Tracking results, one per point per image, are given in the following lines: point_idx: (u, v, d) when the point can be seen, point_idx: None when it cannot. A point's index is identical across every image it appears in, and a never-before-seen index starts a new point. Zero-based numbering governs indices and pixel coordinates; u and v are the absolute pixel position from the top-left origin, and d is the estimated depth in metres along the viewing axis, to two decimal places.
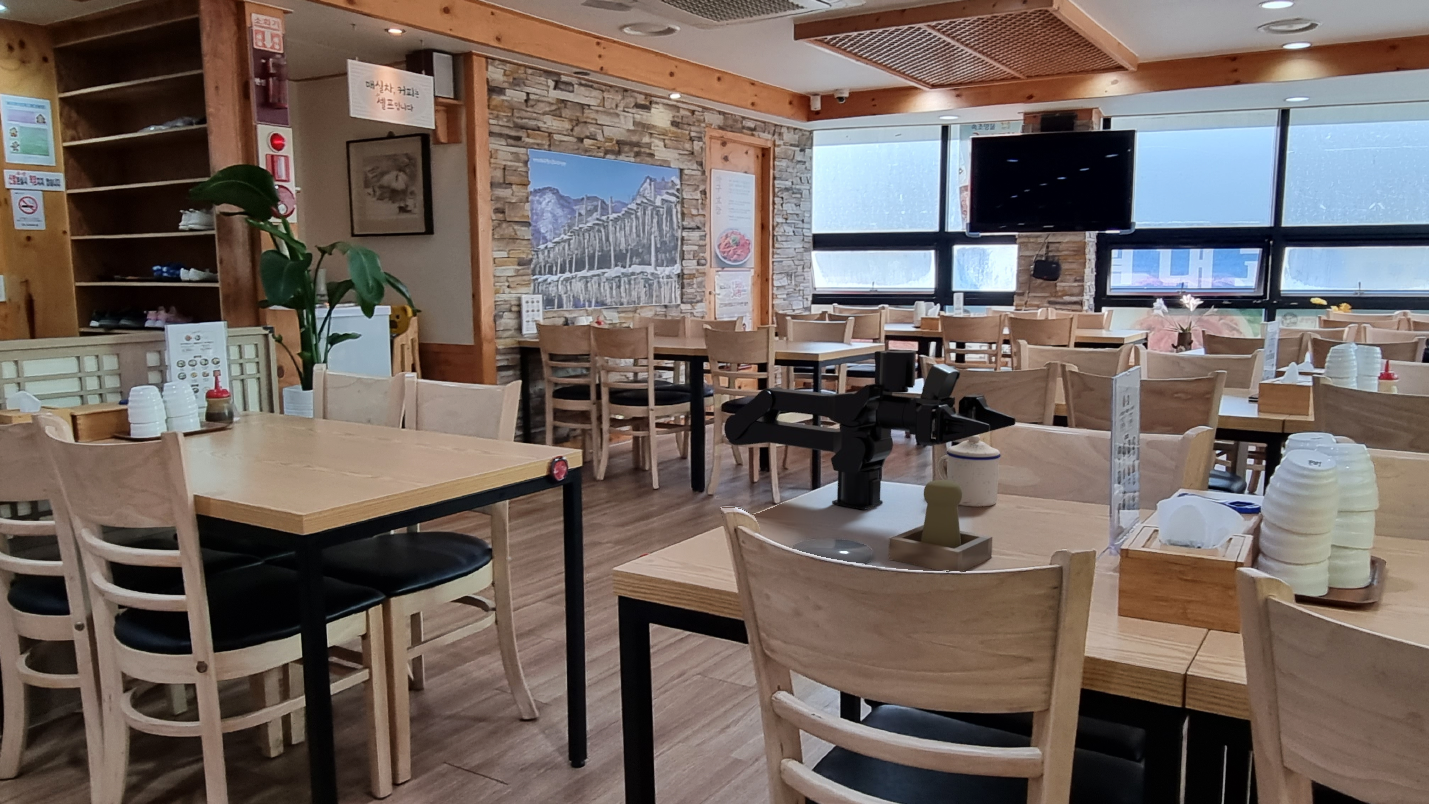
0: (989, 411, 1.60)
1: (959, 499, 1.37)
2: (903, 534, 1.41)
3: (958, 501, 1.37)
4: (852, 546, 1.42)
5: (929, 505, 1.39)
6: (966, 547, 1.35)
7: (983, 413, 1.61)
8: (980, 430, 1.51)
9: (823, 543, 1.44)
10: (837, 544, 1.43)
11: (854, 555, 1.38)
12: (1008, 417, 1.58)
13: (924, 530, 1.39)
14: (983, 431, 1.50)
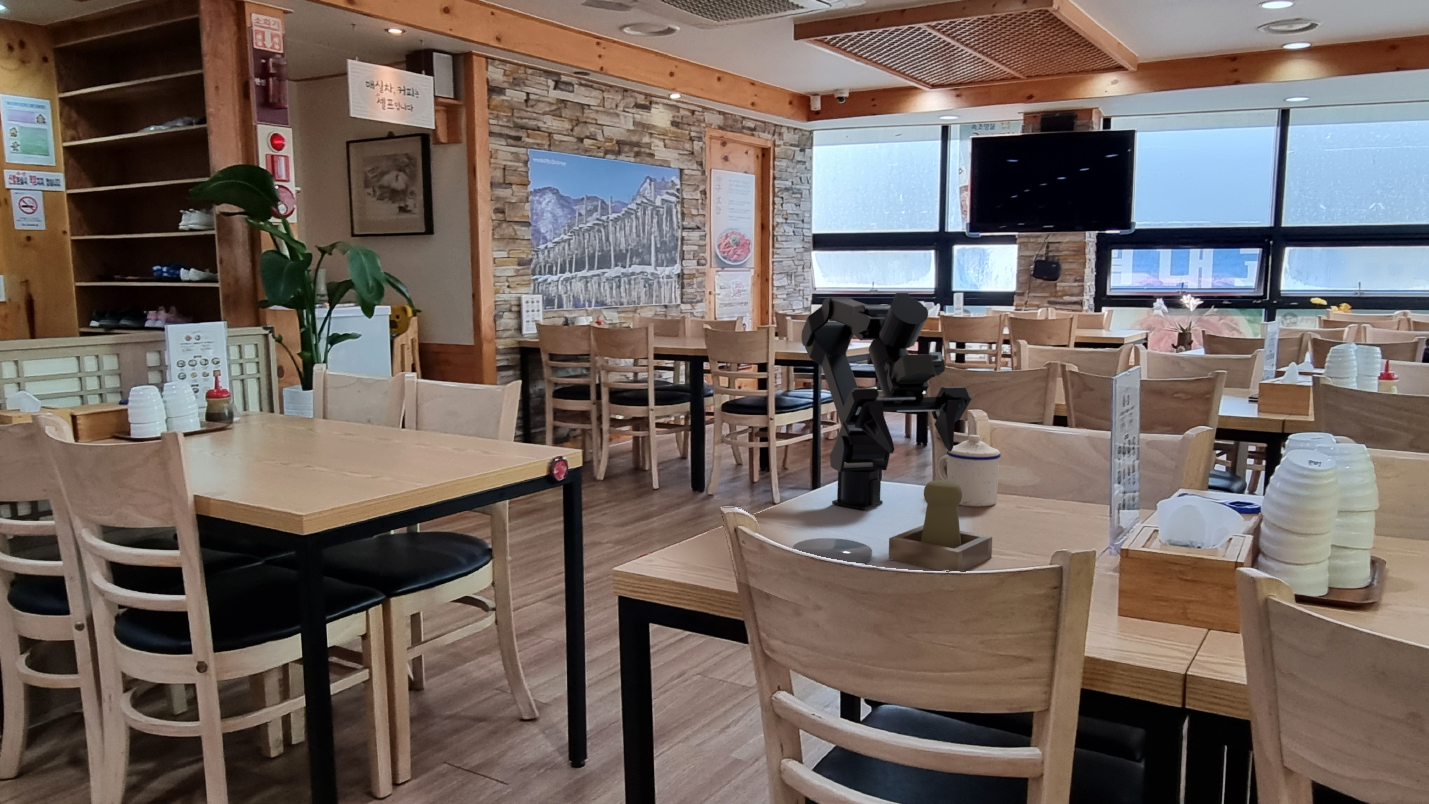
0: (946, 421, 1.49)
1: (959, 499, 1.37)
2: (903, 534, 1.41)
3: (958, 501, 1.37)
4: (852, 546, 1.42)
5: (929, 505, 1.39)
6: (966, 547, 1.35)
7: (943, 417, 1.50)
8: (886, 446, 1.46)
9: (823, 543, 1.44)
10: (837, 544, 1.43)
11: (854, 555, 1.38)
12: (949, 441, 1.47)
13: (924, 530, 1.39)
14: (887, 449, 1.46)
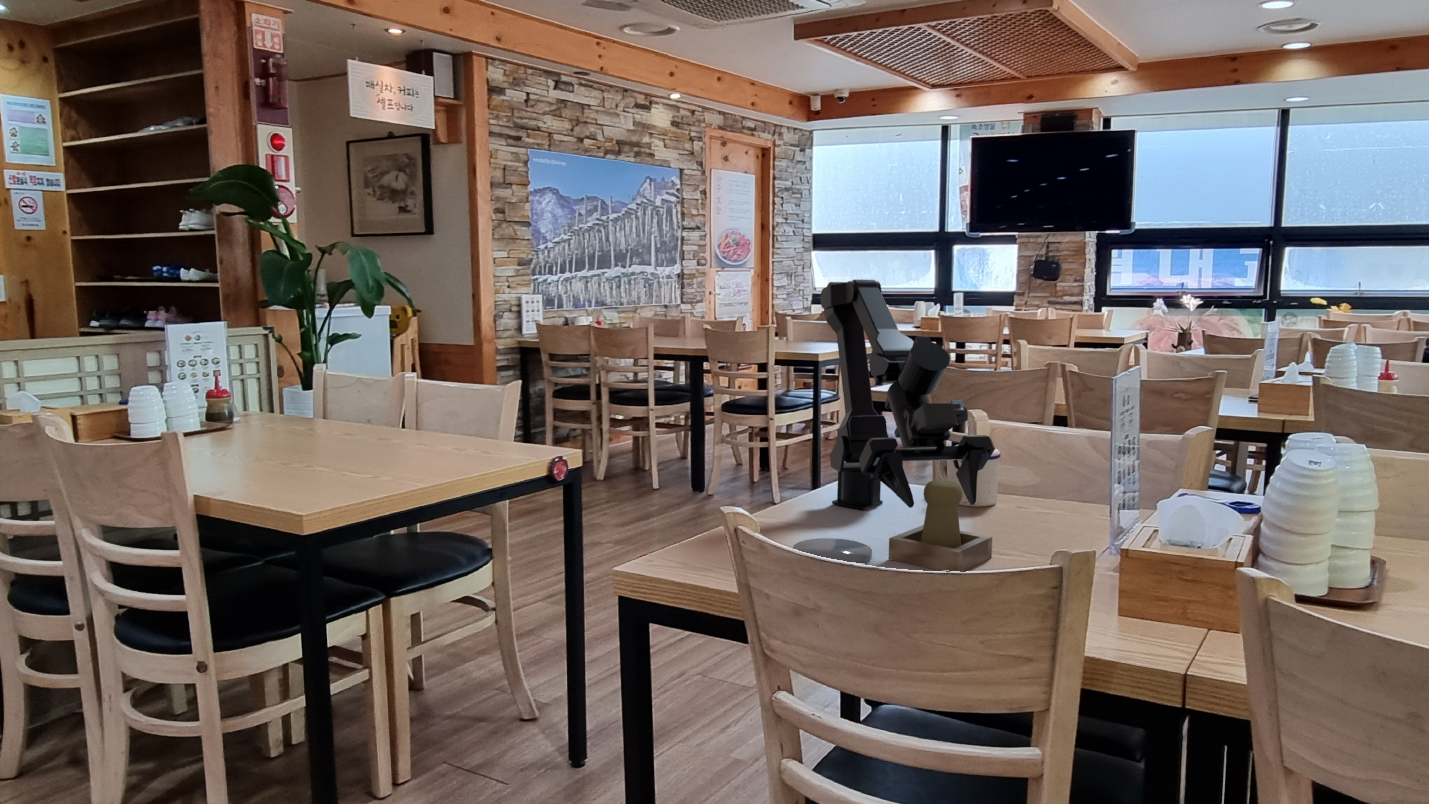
0: (968, 472, 1.42)
1: (959, 499, 1.37)
2: (903, 534, 1.41)
3: (958, 501, 1.37)
4: (852, 546, 1.42)
5: (929, 505, 1.39)
6: (966, 547, 1.35)
7: (966, 468, 1.43)
8: (905, 500, 1.39)
9: (823, 543, 1.44)
10: (837, 544, 1.43)
11: (854, 555, 1.38)
12: (971, 495, 1.40)
13: (924, 530, 1.39)
14: (906, 503, 1.39)
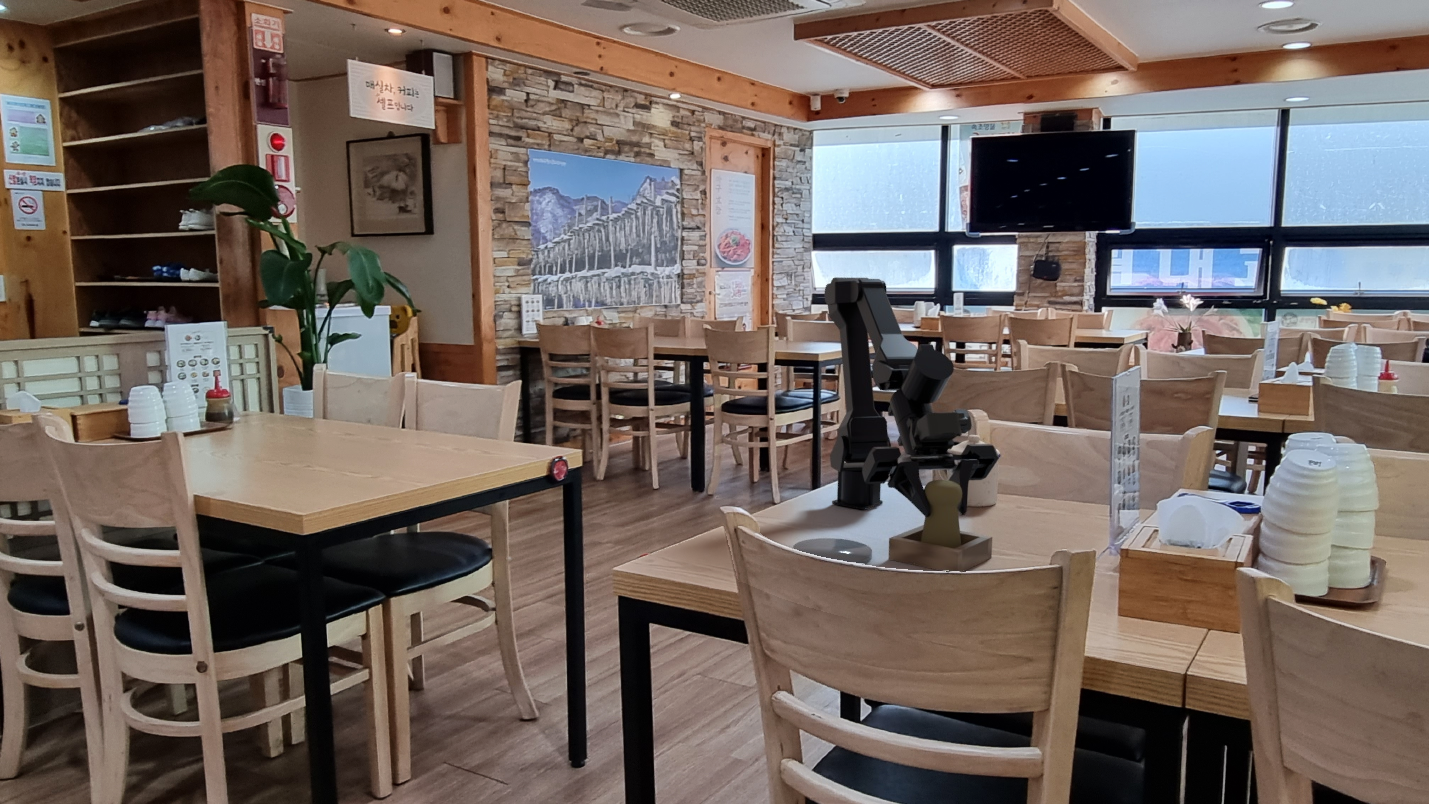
0: (959, 482, 1.40)
1: (959, 499, 1.37)
2: (903, 534, 1.41)
3: (958, 501, 1.37)
4: (852, 546, 1.42)
5: (929, 504, 1.39)
6: (966, 547, 1.35)
7: (957, 477, 1.41)
8: (921, 509, 1.38)
9: (823, 543, 1.44)
10: (837, 544, 1.43)
11: (854, 555, 1.38)
12: (962, 505, 1.39)
13: (924, 530, 1.39)
14: (923, 513, 1.38)
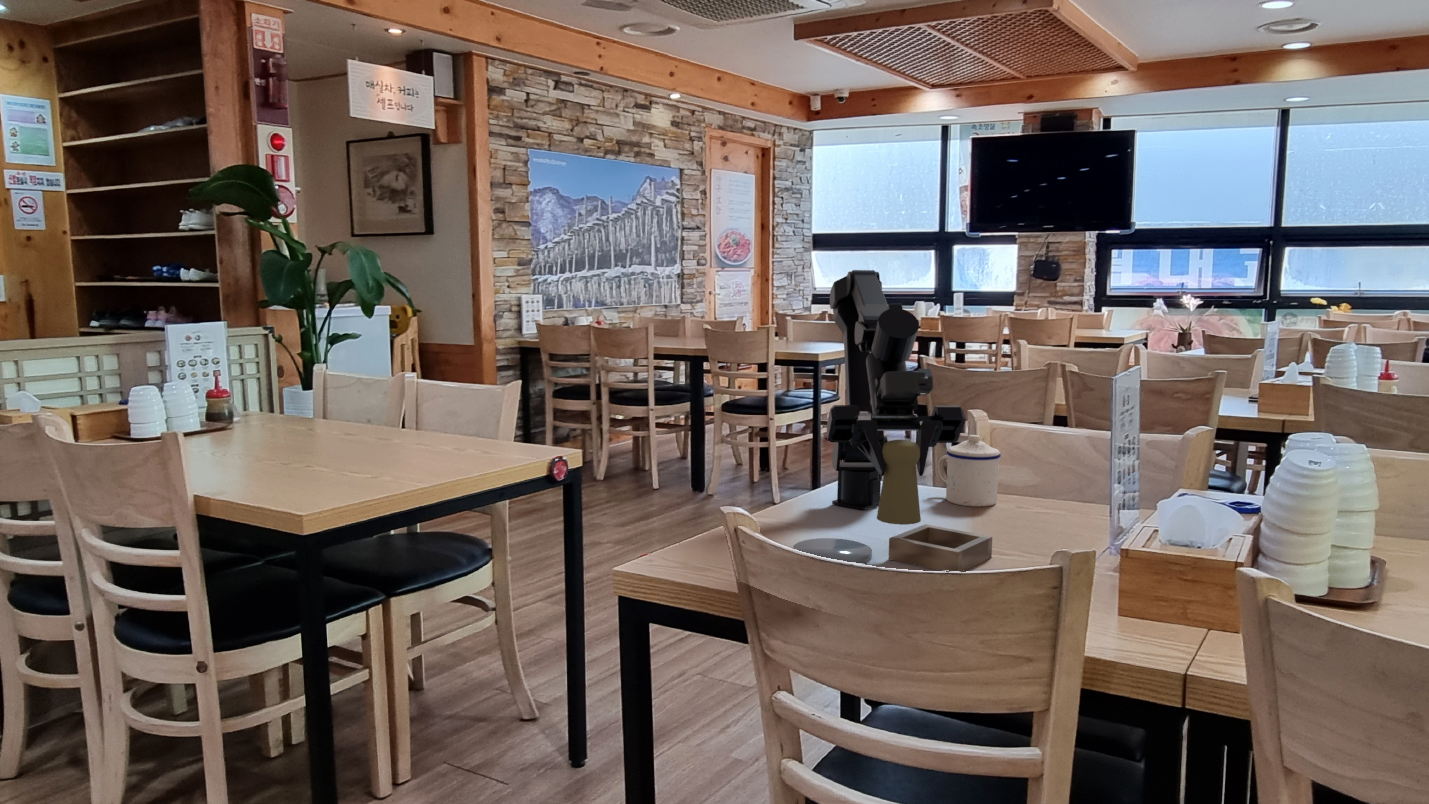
0: (920, 443, 1.39)
1: (915, 459, 1.36)
2: (903, 534, 1.41)
3: (914, 461, 1.36)
4: (852, 546, 1.42)
5: (886, 464, 1.38)
6: (966, 547, 1.35)
7: (919, 438, 1.40)
8: (877, 468, 1.38)
9: (823, 543, 1.44)
10: (837, 544, 1.43)
11: (854, 555, 1.38)
12: (920, 465, 1.37)
13: (881, 489, 1.39)
14: (878, 471, 1.38)
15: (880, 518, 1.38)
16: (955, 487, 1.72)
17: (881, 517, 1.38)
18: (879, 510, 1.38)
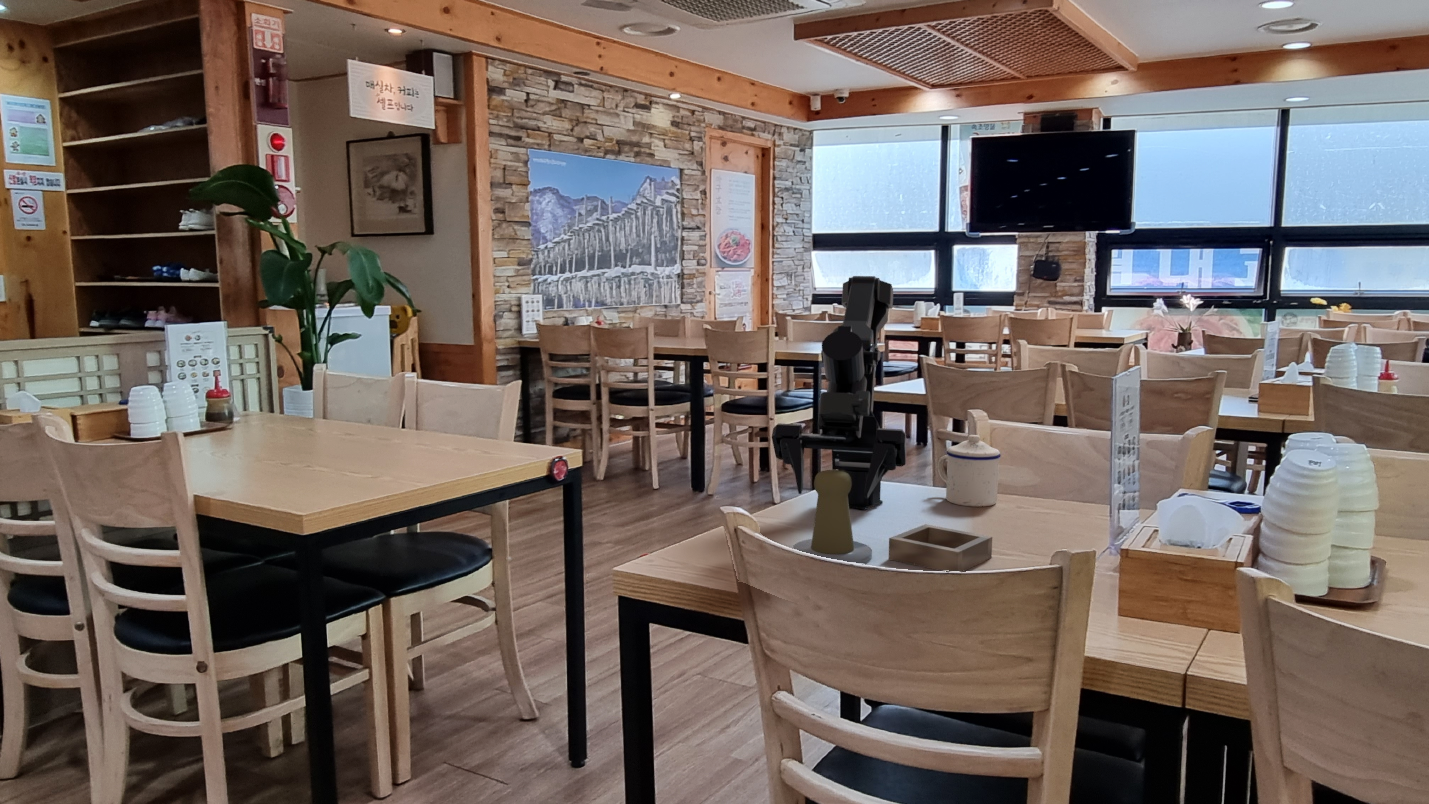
0: (870, 465, 1.39)
1: (841, 489, 1.38)
2: (903, 534, 1.41)
3: (840, 491, 1.38)
4: None
5: (818, 493, 1.40)
6: (966, 547, 1.35)
7: None
8: None
9: None
10: None
11: (854, 555, 1.38)
12: (865, 487, 1.38)
13: None
14: None
15: (811, 546, 1.41)
16: (955, 487, 1.72)
17: (812, 545, 1.40)
18: (812, 538, 1.41)
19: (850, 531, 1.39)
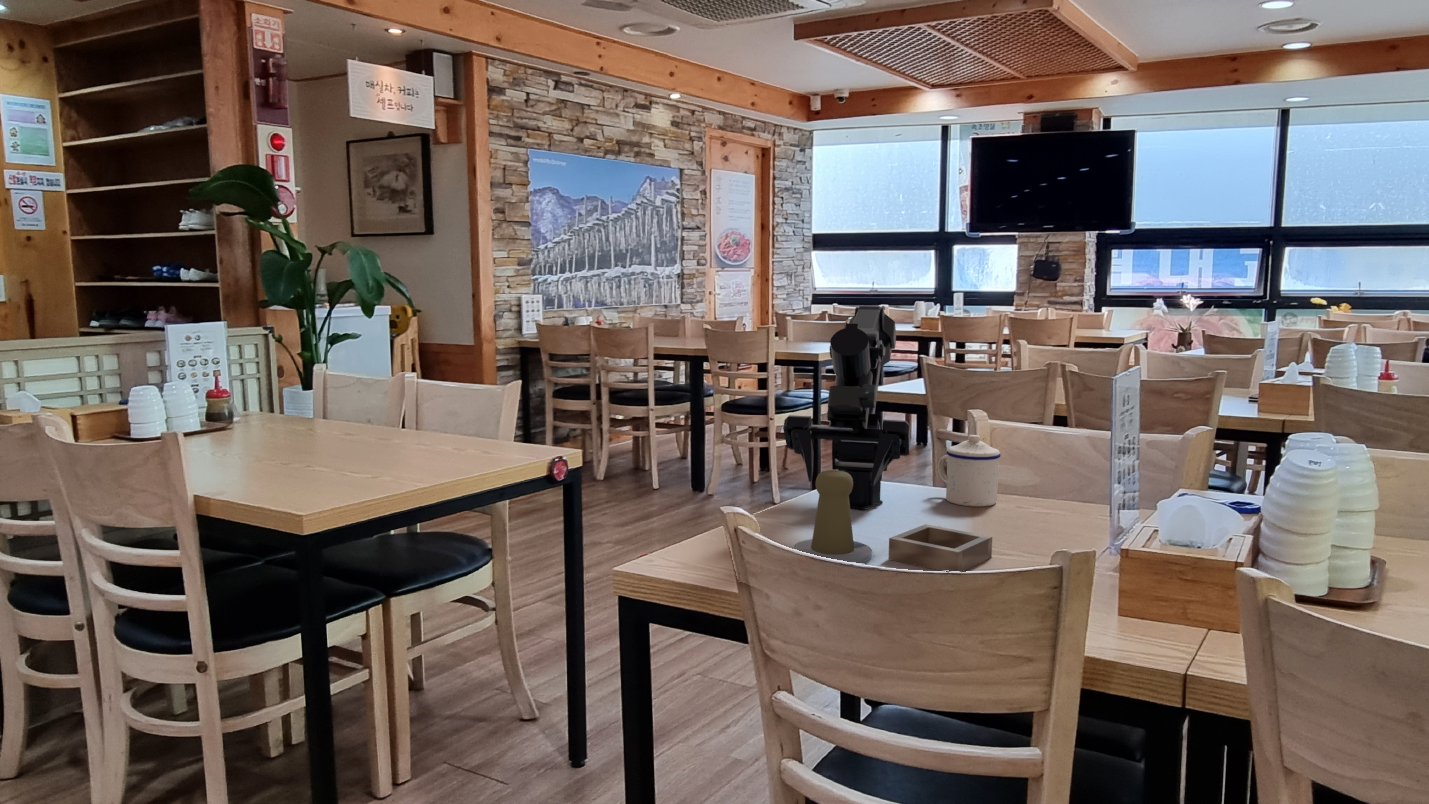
0: (876, 454, 1.48)
1: (843, 490, 1.38)
2: (903, 534, 1.41)
3: (842, 492, 1.38)
4: None
5: (819, 493, 1.40)
6: (966, 547, 1.35)
7: None
8: None
9: None
10: None
11: (854, 555, 1.38)
12: (871, 475, 1.46)
13: None
14: None
15: (812, 546, 1.41)
16: (955, 487, 1.72)
17: (812, 545, 1.40)
18: (812, 538, 1.41)
19: (850, 532, 1.39)
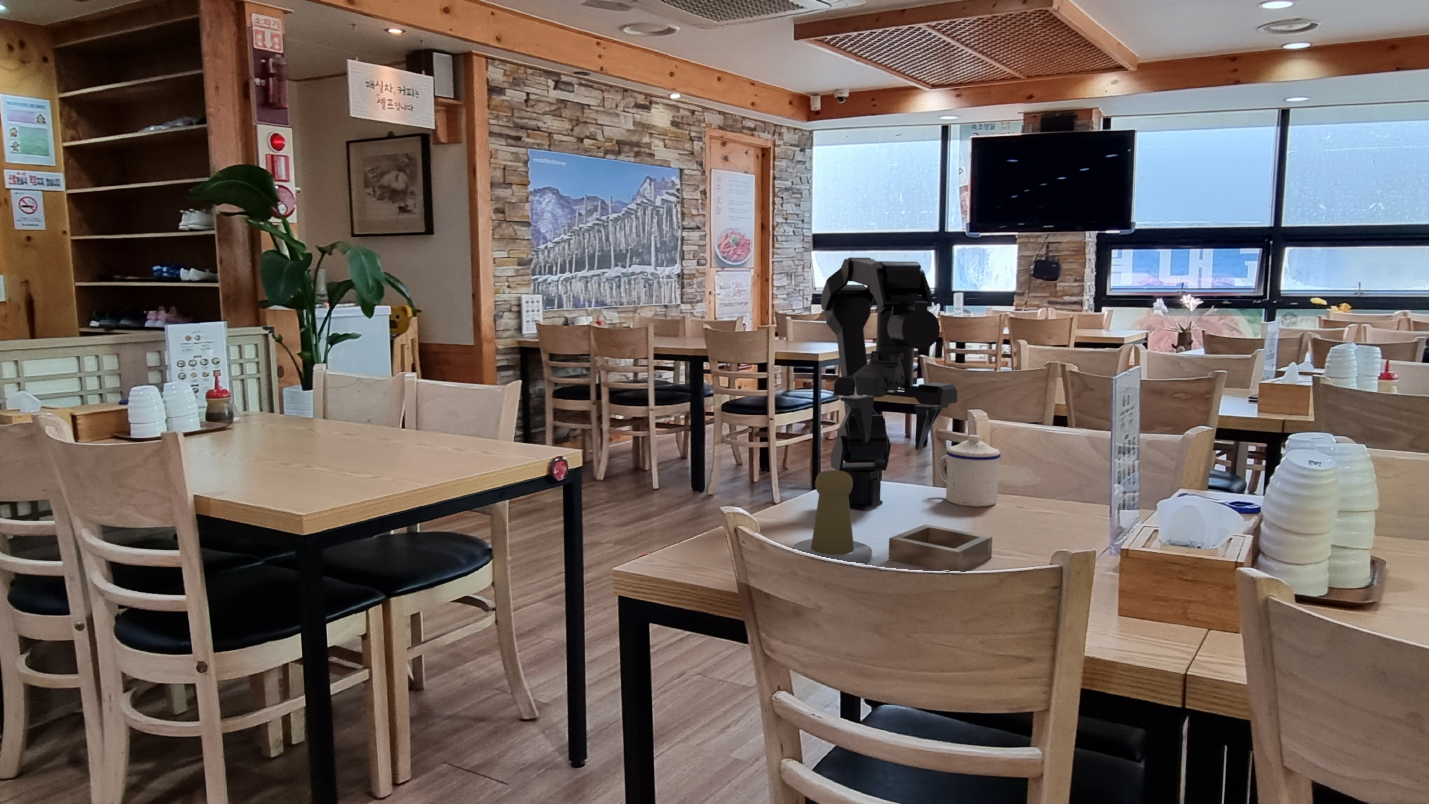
0: (917, 421, 1.51)
1: (843, 490, 1.38)
2: (903, 534, 1.41)
3: (842, 492, 1.38)
4: None
5: None
6: (966, 547, 1.35)
7: None
8: None
9: None
10: None
11: (854, 555, 1.38)
12: None
13: None
14: None
15: (812, 546, 1.41)
16: (955, 487, 1.72)
17: (812, 545, 1.40)
18: (812, 538, 1.41)
19: (850, 532, 1.39)
